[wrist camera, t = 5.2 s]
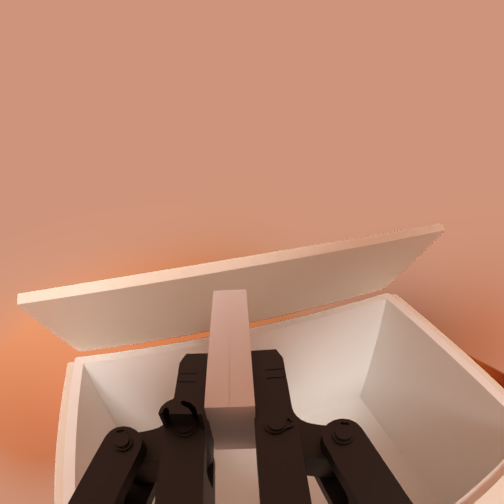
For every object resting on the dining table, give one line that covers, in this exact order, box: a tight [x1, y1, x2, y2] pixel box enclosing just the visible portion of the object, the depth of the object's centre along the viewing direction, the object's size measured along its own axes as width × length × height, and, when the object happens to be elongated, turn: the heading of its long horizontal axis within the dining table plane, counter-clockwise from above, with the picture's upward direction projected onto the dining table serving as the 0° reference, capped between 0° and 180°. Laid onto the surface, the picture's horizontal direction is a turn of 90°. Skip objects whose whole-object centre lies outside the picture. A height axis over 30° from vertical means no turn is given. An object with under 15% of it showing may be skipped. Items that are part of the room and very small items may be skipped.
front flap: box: [17, 224, 445, 352], centre depth 21 cm, size 27×10×1 cm
